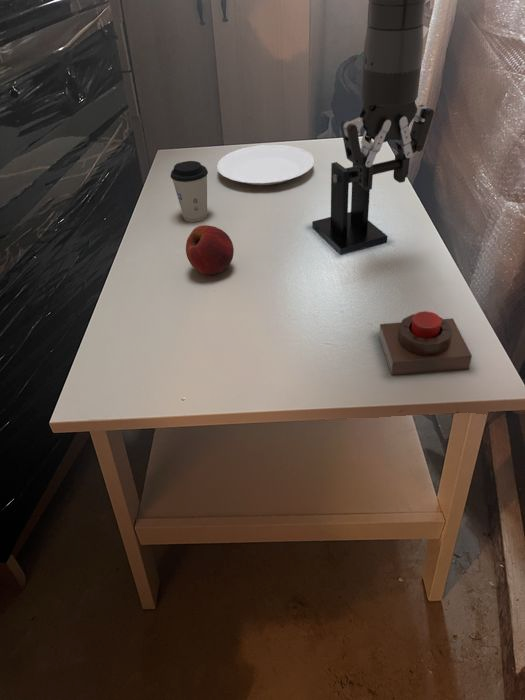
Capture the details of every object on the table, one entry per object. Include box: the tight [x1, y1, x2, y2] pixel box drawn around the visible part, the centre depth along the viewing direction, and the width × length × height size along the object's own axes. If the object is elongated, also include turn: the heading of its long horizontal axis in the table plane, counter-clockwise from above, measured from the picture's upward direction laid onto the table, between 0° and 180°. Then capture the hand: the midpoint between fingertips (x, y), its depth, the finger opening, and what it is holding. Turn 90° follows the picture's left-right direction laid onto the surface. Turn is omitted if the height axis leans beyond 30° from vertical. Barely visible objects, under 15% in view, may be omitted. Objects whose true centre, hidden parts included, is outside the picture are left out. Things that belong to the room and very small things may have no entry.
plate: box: [216, 144, 315, 186], centre depth 126 cm, size 21×21×2 cm
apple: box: [185, 224, 235, 276], centre depth 95 cm, size 7×8×8 cm
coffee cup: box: [170, 160, 209, 223], centre depth 110 cm, size 7×7×10 cm
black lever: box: [344, 158, 401, 184], centre depth 92 cm, size 13×5×2 cm, turn 22°
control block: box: [378, 313, 473, 376], centre depth 77 cm, size 10×8×4 cm
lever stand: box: [311, 161, 388, 255], centre depth 100 cm, size 11×9×13 cm
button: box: [411, 310, 442, 339], centre depth 75 cm, size 4×4×2 cm
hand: (382, 183), depth 88 cm, fingers closed on black lever, 5 cm apart
